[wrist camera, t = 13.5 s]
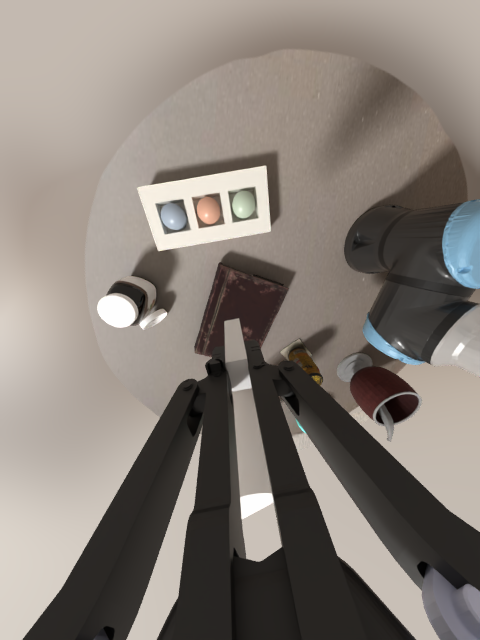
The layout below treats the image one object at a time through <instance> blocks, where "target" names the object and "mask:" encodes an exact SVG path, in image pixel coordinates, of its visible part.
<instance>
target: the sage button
mask: <svg viewBox="0 0 480 640" xmlns="http://www.w3.org/2000/svg"><path fill="white" fill-rule="evenodd" d="M254 209H255V199H254V197H253V195H252V194H251V193H250V192H248V191H240V192H238V193H237V194H236V195H235V197H234V199H233V203H232V211H233V214H234V215H235V216H236V217H237V218H239V219H246V218H248V217H249V216H250V215H251V214H252V213H253V211H254Z"/></svg>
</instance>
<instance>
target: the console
mask: <svg viewBox="0 0 480 640" xmlns="http://www.w3.org/2000/svg"><path fill="white" fill-rule="evenodd" d="M137 189H138V192H139V195H140V198H141V201H142V204H143V207H144V210H145V213H146V216H147V219H148V222H149V225H150V228H151V231H152V234H153V237H154V240H155V243H156V246H157V249H158V251H163V250H168V249H174V248H180V247H185V246H191V245H197V244H202V243H208V242H214V241H220V240H225V239H231V238H237V237H242V236H248V235H254V234H260V233H265V232H271V225H270V211H269V198H268V184H267V170H266V166H260V167H254V168H248V169H243V170H237V171H231V172H225V173H219V174H213V175H207V176H201V177H195V178H189V179H184V180H178V181H172V182H166V183H160V184H154V185H148V186H142V187H137ZM240 191H248V192H250V193H251V194H252V195H253V197H254V199H255V209H254V211H253V213H252V214H251V215H250V216H249V217H248V218H246V219H239V218H237V217H236V216H235V215H234V214H233V211H232V203H233V199H234V197H235V195H236V194H237V193H238V192H240ZM204 197H211V198H213V199H215V200H216V201H217V203H218V205H219V207H220V218H219V220H218V221H217V222H216V223H215V224H212V225H209V224H206V223H204V222H203V221H202V220H201V219H200V218H199V216H198V213H197V205H198V202H199V201H200V200H201V199H202V198H204ZM168 203H174V204H176V205H178V206H179V207H181V208H182V209H183V210H184V211H185V212H186V214H187V218H188V222H187V225H186V227H185V228H184V229H182V230H174V229H170V228H168V227H167V226H166V225H165V224H164V223H163V221H162V219H161V210H162V208H163V206H164V205H166V204H168Z"/></svg>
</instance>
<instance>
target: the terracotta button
mask: <svg viewBox="0 0 480 640" xmlns="http://www.w3.org/2000/svg"><path fill="white" fill-rule="evenodd" d="M197 213H198V216H199V218H200V219H201V220H202V221H203V222H204V223H206V224H209V225H212V224H215V223H216V222H217V221H218V220H219V218H220V207H219V205H218V203H217V201H216V200H215V199H213V198H211V197H204V198H202V199H201V200H200V201H199V202H198V205H197Z"/></svg>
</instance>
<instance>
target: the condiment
mask: <svg viewBox="0 0 480 640" xmlns="http://www.w3.org/2000/svg"><path fill="white" fill-rule="evenodd" d="M288 351H289V353H288ZM280 353H281V354H282V355H283V356H284V357H285V358H286V359H287V360H289V361H294V362H296V363H297V364H298V365H299V366H300V367H301V368H302V369H303V370H304V371H305V372H306V373H307V374H308V375H309V376H310V377H312V378H313V379H314V380H315V381H316V382H317V383H318V384H319V385H321V384H322V382H323V377H322V375H321V374H320V372H319V369H318V367H317V366H316V364H315V363H314V362H313V360H312V359H311V358H310V356H312V354H311V353H310V352H309V351H308V349H307V348H306V347H305V345H304V344H303V343H302V342H301V340H300V339H298V340H296V341H295V342H293V343H292V344H290V345H289V346H287V347H286V348H285V349H283V350H282V351H280Z"/></svg>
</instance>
